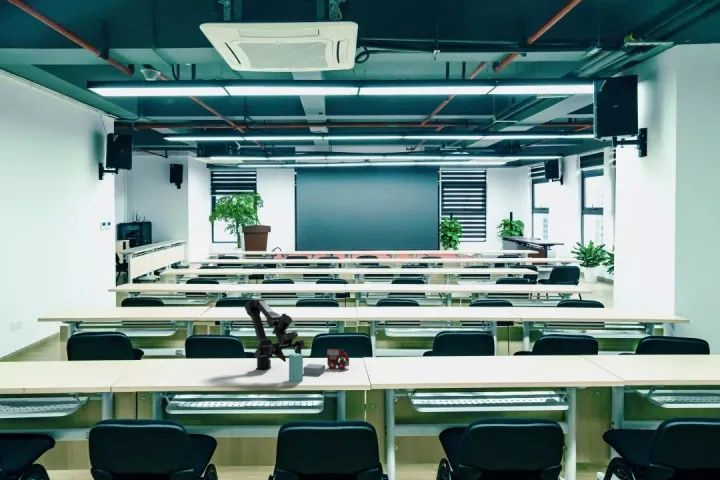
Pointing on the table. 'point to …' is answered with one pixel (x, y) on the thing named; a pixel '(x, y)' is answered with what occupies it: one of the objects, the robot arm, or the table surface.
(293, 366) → the teal block
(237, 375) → the table surface
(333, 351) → the toy fire truck
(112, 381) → the table surface
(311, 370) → the base brick
